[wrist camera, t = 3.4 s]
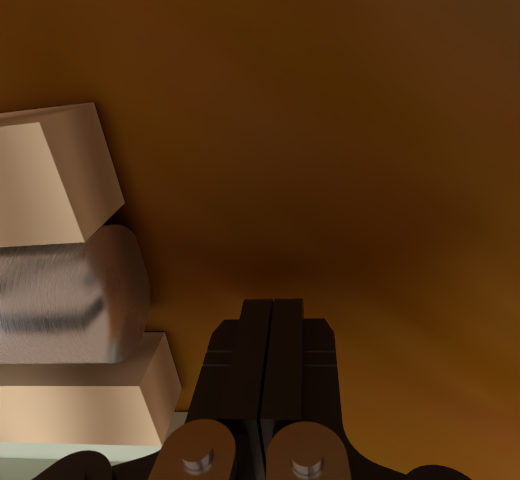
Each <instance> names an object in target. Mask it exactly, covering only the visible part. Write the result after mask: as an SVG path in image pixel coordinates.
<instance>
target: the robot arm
mask: <svg viewBox="0 0 520 480" xmlns="http://www.w3.org/2000/svg"><path fill="white" fill-rule="evenodd" d="M32 480H471V479H470V478H469V477H467V476H466V475H464V474H462V473H460V472H458V471H456V470H454V469H452V468H448V467H445V466H439V465H425V466H420V467H418V468H415V469H413V470H412V471H410V472H409V473H408V474H407V475H405V474H403V473H400V472H397V471H394V470H391V469H389V468H386V467H383V466H380V465H378V464H376V463H373V462H372V461H370V460H368V459H367V458H365V457H364V456H362V455H361V454H360V453H359V452H358V451H357V450H356V449H355V448H354V447H353V446H352V444H351V443H350V442H349V440H348V438H347V437H346V434H345V432H344V429H343V424H342V414H341V403H340V392H339V381H338V370H337V359H336V349H335V338H334V332H333V330H332V329H331V328H330V326H329V325H328V323H327V322H326V320H325V319H304V309H303V299H274V302H273V299H254V300H244V302H243V306H242V311H241V315H240V320H224V321H223V322H222V323H221V324H220V325H219V326H218V328H217V329H216V330H215V331H214V332H213V333H212V336H211V339H210V342H209V346H208V349H207V353H206V355H205V359H204V362H203V367H202V368H201V372H200V375H199V378H198V381H197V385H196V388H195V391H194V395H193V398H192V401H191V404H190V408H189V411H188V414H187V417H186V420H185V423H184V424H183V425H182V426H180V427H179V428H177V429H176V430H175V431H173V432H172V433H171V434H170V435H169V437H168V438H167V439H166V441H165V442H164V444H163V446H162V448H161V449H160V450H159V451H157V452H155V453H153V454H150V455H147V456H145V457H141V458H138V459H134V460H131V461H127V462H124V463H120V464H117V465H113V466H111V464H110V462H109V460H108V458H107V457H106V456H105V455H103V454H101V453H100V452H97V451H92V450H84V451H78V452H75V453H72V454H69V455H67V456H65V457H63V458H61V459H60V460H58V461H57V462H55V463H54V464H52V465H51V466H49V467H48V468H47V469H45V470H44V471H43V472H41V473H40V474H39V475H37V476H36V477H34V478H33V479H32Z"/></svg>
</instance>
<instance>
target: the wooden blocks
mask: <svg viewBox="0 0 520 480" xmlns="http://www.w3.org/2000/svg"><path fill="white" fill-rule="evenodd" d="M124 203H125V202H124V198H123V195H122V192H121V189H120V185H119V182H118V179H117V176H116V172H115V169H114V166H113V163H112V159H111V156H110V153H109V150H108V146H107V143H106V140H105V137H104V134H103V130H102V127H101V124H100V121H99V117H98V114H97V111H96V108H95V104H94V102H90V103H82V104H74V105H65V106H57V107H49V108H40V109H32V110H24V111H15V112H7V113H0V247H14V246H31V245H48V244H64V243H81V242H86V241H87V240H88V239H89V238H90V237H91V236H92V235H93V234H94V233H95V232H96V231H97V230H98V229H99V228H100V227H101V226H102V225H103V224H104V223H105V222H106V221H107V220H108V219H109V218H110V217H111V216H112V215H113V214H114V213H115V212H116V211H117V210H118V209H119V208H120V207H121V206H122V205H123V204H124ZM181 391H182V387H181V384H180V380H179V377H178V374H177V371H176V367H175V364H174V361H173V358H172V354H171V351H170V348H169V345H168V341H167V338H166V335H165V332H145V333H143V336H142V338H141V340H140V343H139V344H138V346H137V348H136V349H135V350H134V352H133V353H132V354H131V355H130V356H129V357H128V358H127V359H125V360H124V361H121V362H118V363H50V364H0V442H19V443H56V444H93V445H130V446H162V445H163V442H164V439H165V436H166V434H167V431H168V428H169V425H170V422H171V419H172V416H173V413H174V411H175V408H176V405H177V402H178V399H179V396H180V393H181Z"/></svg>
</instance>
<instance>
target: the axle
mask: <svg viewBox="0 0 520 480" xmlns="http://www.w3.org/2000/svg"><path fill="white" fill-rule="evenodd" d="M150 294H151V292H150V280H149V277H148V273H147V270H146V267H145V264H144V260H143V257H142V254H141V251H140V247H139V244H138V241H137V238H136V236H135V235H134V234H133V232H132V231H131V230H129V229H128V228H126V227H125V226H122V225H102V226H101V227H100V228H99V229H98V230H97V231H96V232H95V233H94V234H93V235H92V236H91V237H90V238H89V239H88V240H87V241H86V242H81V243H64V244H48V245H31V246H14V247H0V364H50V363H118V362H121V361H124V360H125V359H127V358H128V357H129V356H130V355H131V354H132V353H133V352H134V350H135V349H136V348H137V346H138V344H139V343H140V340H141V338H142V336H143V333H144V331H145V327H146V324H147V320H148V315H149V308H150Z"/></svg>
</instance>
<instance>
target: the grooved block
mask: <svg viewBox="0 0 520 480" xmlns="http://www.w3.org/2000/svg"><path fill="white" fill-rule="evenodd" d="M187 414H188V412H174V413H173V416H172V419H171V422H170V425H169V428H168V431H167V434H166V436H165V439H164V442H165V441H166V439H167V438H168V437H169V435H170V434H171V433H172V432H173V431H175V430H176V429H177V428H179V427H180V426H182V425H183V424H184V423H185V420H186V417H187ZM164 442H163V444H164ZM162 446H163V445H162ZM162 446H130V445H93V444H56V443H19V442H0V480H32V479H33V478H34V477H36V476H37V475H39V474H40V473H41V472H43V471H44V470H45V469H47V468H48V467H49V466H51V465H52V464H54V463H55V462H57V461H58V460H60V459H61V458H63V457H65V456H67V455H69V454H72V453H75V452H78V451H84V450H92V451H97V452H100V453H101V454H103V455H105V456H106V457H107V458H108V460H109V462H110V464H111V466H113V465H117V464H120V463H124V462H127V461H131V460H134V459H138V458H141V457H145V456H147V455H150V454H153V453H155V452H157V451H159V450H160V449H161V448H162Z"/></svg>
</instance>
